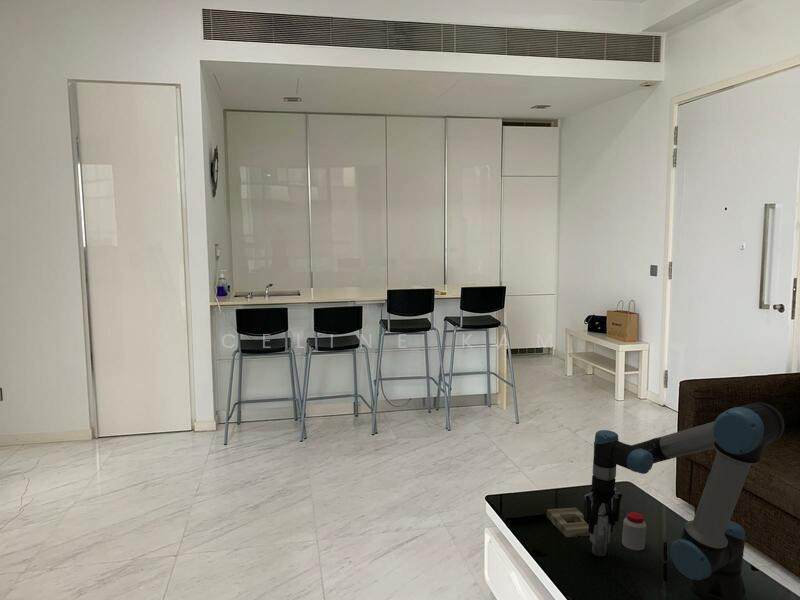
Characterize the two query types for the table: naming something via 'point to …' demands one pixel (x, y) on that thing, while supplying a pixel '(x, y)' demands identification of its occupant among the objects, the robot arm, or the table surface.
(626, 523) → the pill bottle
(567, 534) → the jig
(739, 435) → the robot arm
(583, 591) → the table surface
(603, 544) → the grey cylindrical peg
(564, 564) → the table surface
